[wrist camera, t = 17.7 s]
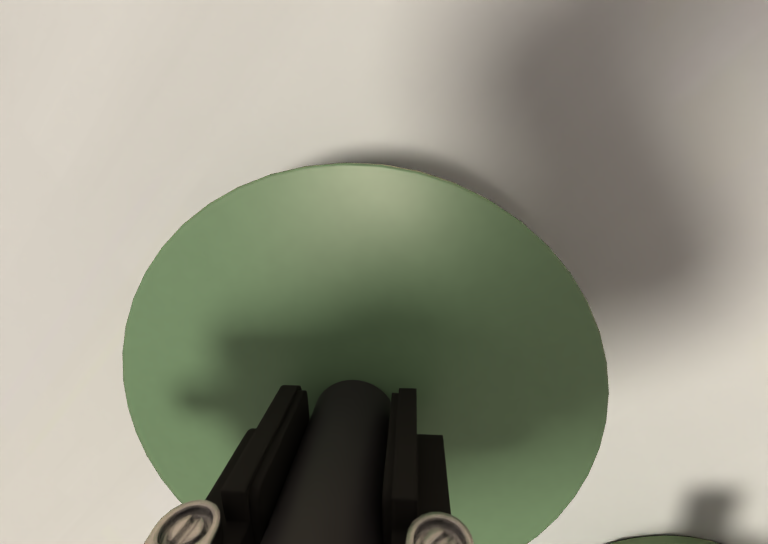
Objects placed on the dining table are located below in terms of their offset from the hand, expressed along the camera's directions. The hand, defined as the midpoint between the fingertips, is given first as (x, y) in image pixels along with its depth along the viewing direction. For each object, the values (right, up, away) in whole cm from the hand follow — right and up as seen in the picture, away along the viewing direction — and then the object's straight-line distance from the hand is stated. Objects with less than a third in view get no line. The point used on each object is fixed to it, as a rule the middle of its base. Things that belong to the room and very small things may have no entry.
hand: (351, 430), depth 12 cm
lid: (0, 0, +1) cm, 1 cm away
